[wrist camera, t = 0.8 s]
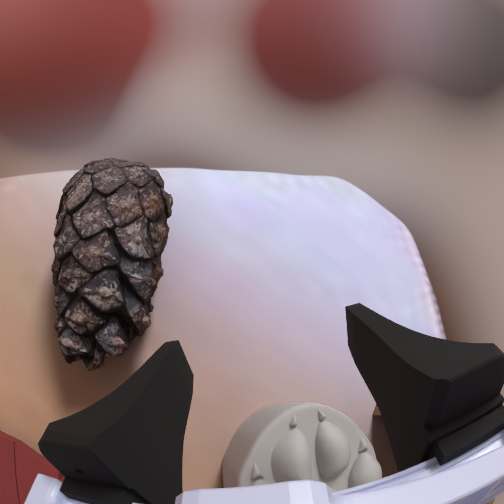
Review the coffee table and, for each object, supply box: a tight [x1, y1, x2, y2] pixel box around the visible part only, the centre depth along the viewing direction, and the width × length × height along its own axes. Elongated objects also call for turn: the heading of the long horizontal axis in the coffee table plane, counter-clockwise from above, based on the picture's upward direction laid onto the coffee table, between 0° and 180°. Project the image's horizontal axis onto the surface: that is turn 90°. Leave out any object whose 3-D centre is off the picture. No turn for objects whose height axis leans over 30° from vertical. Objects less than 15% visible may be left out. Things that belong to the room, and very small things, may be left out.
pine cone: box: [52, 158, 173, 371], centre depth 22 cm, size 10×18×10 cm, turn 9°
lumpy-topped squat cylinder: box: [222, 403, 382, 493], centre depth 17 cm, size 10×13×9 cm
